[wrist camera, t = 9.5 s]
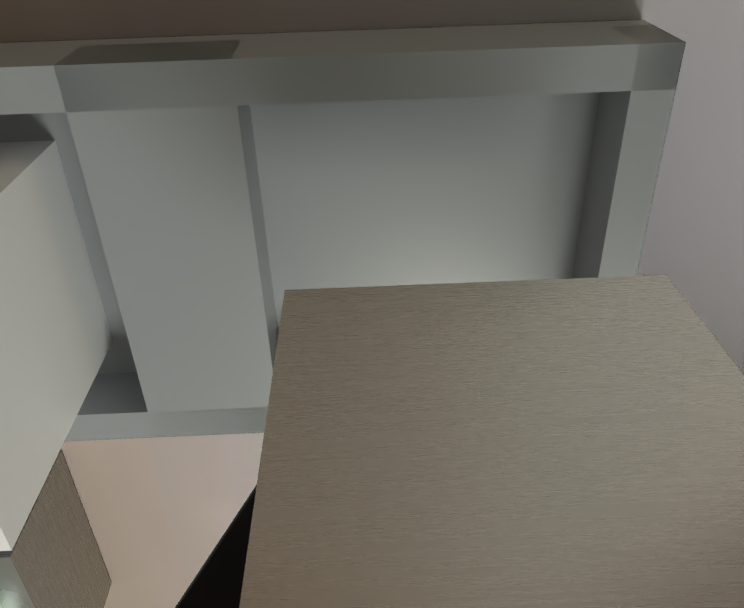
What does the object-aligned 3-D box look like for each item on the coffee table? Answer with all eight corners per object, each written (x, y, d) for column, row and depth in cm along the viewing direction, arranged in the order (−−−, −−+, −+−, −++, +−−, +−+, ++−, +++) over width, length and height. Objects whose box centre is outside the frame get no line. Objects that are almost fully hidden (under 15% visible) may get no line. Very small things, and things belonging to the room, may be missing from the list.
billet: (665, 275, 9) (1077, 797, 4) (605, 528, 12) (804, 1032, 7) (284, 289, 9) (205, 843, 4) (312, 541, 12) (288, 1059, 7)
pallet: (643, 19, 13) (846, 127, 8) (582, 365, 18) (684, 583, 13) (-317, 54, 13) (-784, 190, 8) (-128, 396, 18) (-336, 632, 12)
